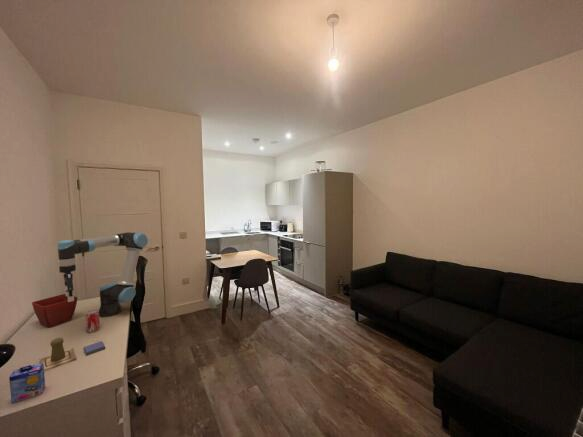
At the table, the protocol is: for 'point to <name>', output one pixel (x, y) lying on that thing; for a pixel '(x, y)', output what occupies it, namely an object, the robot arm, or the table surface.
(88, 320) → the soda can
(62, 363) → the board
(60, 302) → the plant pot
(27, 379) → the ink cartridge box
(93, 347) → the ink pad
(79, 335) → the table surface
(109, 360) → the table surface
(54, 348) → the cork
